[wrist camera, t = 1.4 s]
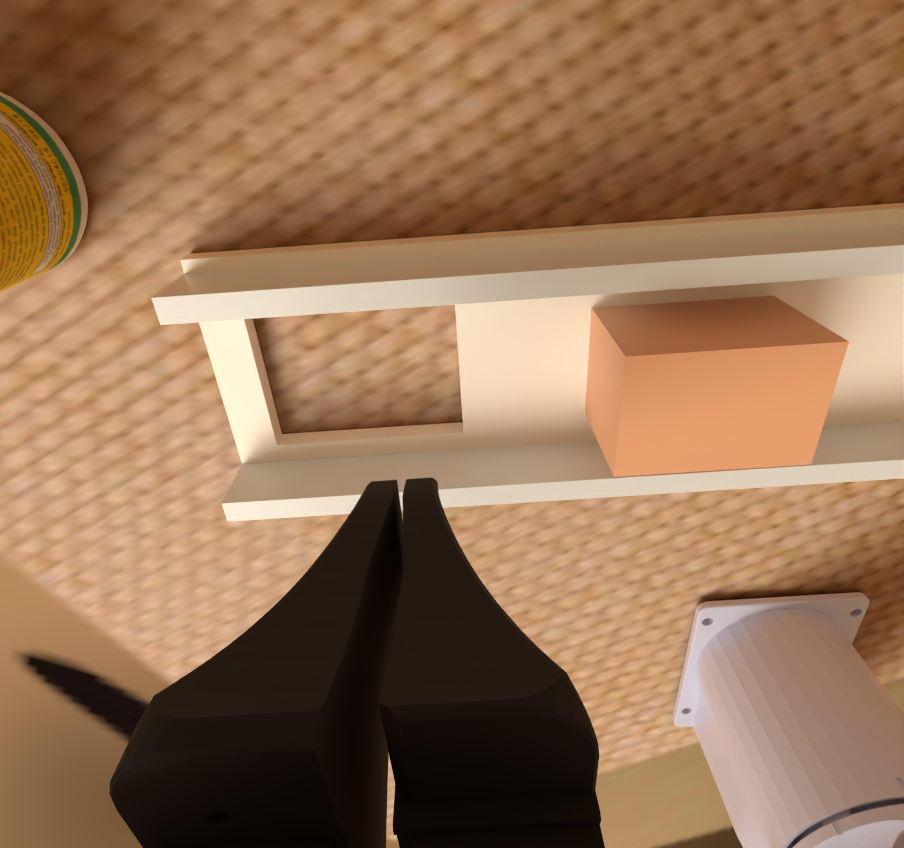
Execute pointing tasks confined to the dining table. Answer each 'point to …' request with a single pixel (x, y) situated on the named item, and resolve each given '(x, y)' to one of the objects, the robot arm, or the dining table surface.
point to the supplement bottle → (36, 196)
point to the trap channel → (546, 350)
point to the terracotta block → (709, 385)
